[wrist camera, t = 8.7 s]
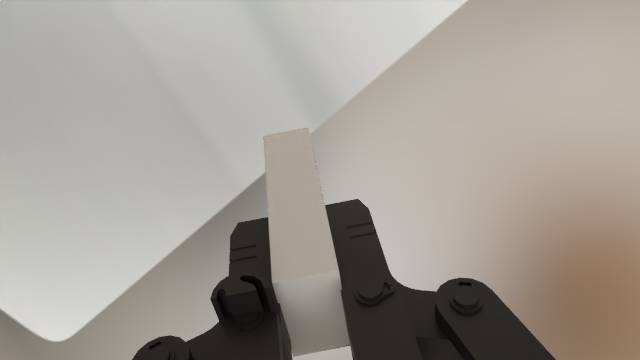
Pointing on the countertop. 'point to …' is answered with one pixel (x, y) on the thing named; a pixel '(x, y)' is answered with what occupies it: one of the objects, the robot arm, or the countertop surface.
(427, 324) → the robot arm
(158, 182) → the countertop surface
